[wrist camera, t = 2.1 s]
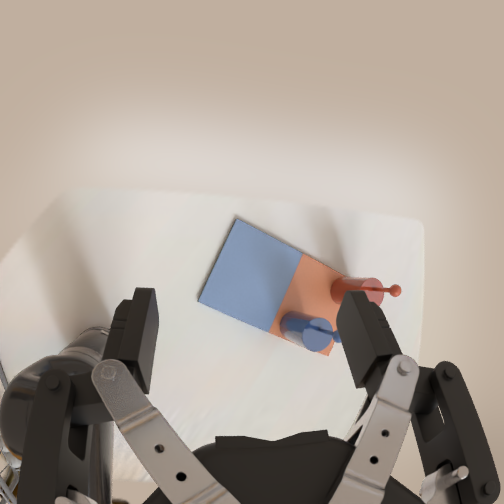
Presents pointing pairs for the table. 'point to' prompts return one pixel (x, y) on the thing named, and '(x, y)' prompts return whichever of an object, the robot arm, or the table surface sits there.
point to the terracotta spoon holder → (362, 288)
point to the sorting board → (268, 282)
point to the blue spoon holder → (308, 330)
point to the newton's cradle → (8, 461)
